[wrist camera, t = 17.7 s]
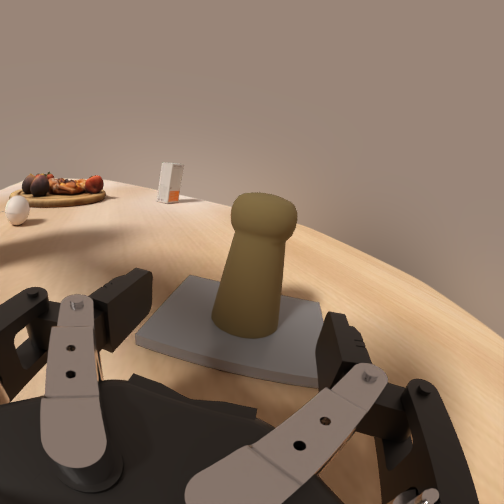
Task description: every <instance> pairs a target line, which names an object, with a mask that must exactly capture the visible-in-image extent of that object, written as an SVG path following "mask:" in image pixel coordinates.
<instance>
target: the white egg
mask: <svg viewBox="0 0 504 504" xmlns="http://www.w3.org/2000/svg"><path fill="white" fill-rule="evenodd" d="M29 211H30V208H29V203H28V201H27V200H26V199H25V198H24V197H22V196H14V197H12V198H11V199H10V200H9V201H8V202H7V205H6V208H5V215H6V218H7V220H8V221H9V222H10V223H11V224H13V225H20V224H22V223H24V222H25V221H26V219H27V218H28V215H29ZM2 212H4V211H2Z"/></svg>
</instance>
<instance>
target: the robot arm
mask: <svg viewBox="0 0 504 504" xmlns="http://www.w3.org/2000/svg"><path fill="white" fill-rule="evenodd" d="M152 280H153V276H152V272H150V271H147V270H143V269H139V268H135V269H133V270H132V271H130V272H129V273H128V274H126V275H122V276H119V277H116V278H114V279H112V280H111V281H110V282H109V283H107V284H105V285H104V286H103V287H101V288H99V289H98V290H96V291H95V292H93V293H92V294H91V295H89V296H86V295H80V294H76V295H70V296H67V297H65V298H64V299H63V300H62V301H61V303H58V302H52V301H49V300H48V293H47V291H46V290H45V289H43V288H40V287H31V288H27V289H25V290H23V291H21V292H20V293H18V294H17V295H15V296H14V297H12V298H10V299H9V300H7V301H6V302H4V303H3V304H1V305H0V504H344V503H343V502H342V501H341V500H340V499H339V498H338V497H337V496H336V495H335V494H334V492H333V491H332V490H331V489H330V488H329V487H328V486H327V485H326V484H325V483H324V482H323V481H322V479H321V478H320V477H319V476H318V475H319V474H320V473H321V472H322V471H323V470H324V469H325V468H326V466H327V465H328V464H329V463H330V462H331V461H332V460H333V458H334V457H335V456H336V455H337V454H338V453H339V451H340V450H341V449H342V448H343V447H344V446H345V444H346V443H347V442H348V441H349V439H350V438H351V437H352V436H353V434H354V433H355V432H360V433H363V434H367V435H370V436H374V439H375V445H376V452H377V460H378V468H379V476H380V486H381V497H382V504H479V501H478V497H477V493H476V490H475V486H474V483H473V480H472V476H471V473H470V470H469V467H468V464H467V461H466V458H465V455H464V453H463V450H462V447H461V445H460V442H459V439H458V437H457V434H456V432H455V429H454V427H453V424H452V422H451V419H450V417H449V415H448V412H447V410H446V408H445V406H444V403H443V401H442V399H441V397H440V395H439V392H438V390H437V389H436V388H435V386H434V385H432V384H431V383H430V382H428V381H425V380H422V379H413V380H411V381H410V382H409V383H408V385H407V386H406V388H404V387H401V386H397V385H394V384H391V383H388V377H387V375H386V373H385V372H384V371H383V370H382V369H381V368H379V367H377V366H375V365H373V364H372V362H371V360H370V357H369V354H368V352H367V349H366V348H365V347H366V346H365V344H364V342H363V339H362V336H361V334H360V333H359V332H358V330H357V329H356V328H355V327H353V326H349V324H348V321H347V318H346V315H345V314H341V313H335V312H328V313H327V315H326V317H325V320H324V323H323V326H322V329H321V332H320V335H319V338H318V340H317V344H316V349H315V357H316V366H317V376H318V386H319V393H318V394H317V395H316V396H315V397H314V398H312V399H311V400H310V401H309V402H308V403H306V404H305V405H304V406H303V407H302V408H301V409H299V410H298V411H297V412H296V413H294V414H293V415H292V416H291V417H289V418H288V419H287V420H286V421H284V422H283V423H282V424H280V425H279V426H278V427H276V428H274V427H273V426H271V425H270V424H268V423H266V422H264V421H262V420H260V419H258V418H256V413H257V409H256V408H251V407H246V406H241V405H237V404H232V403H228V402H220V401H205V400H193V399H189V398H187V397H185V396H183V395H181V394H179V393H177V392H175V391H174V390H172V389H170V388H168V387H166V386H165V385H163V384H161V383H158V382H156V381H153V380H150V379H147V378H144V377H142V376H139V375H136V374H134V373H133V375H132V376H131V377H130V379H129V380H128V381H126V380H104V379H103V372H102V365H101V357H100V351H101V349H104V350H107V351H109V352H111V353H113V352H114V351H115V349H116V348H117V347H118V346H119V345H120V344H121V343H122V342H123V341H124V340H125V339H126V337H127V336H128V335H129V334H130V333H131V332H132V331H133V330H134V329H135V328H136V327H137V326H138V324H139V323H140V322H141V321H142V320H143V319H144V318H145V317H146V316H147V315H148V313H149V312H150V309H151V305H152ZM25 326H26V328H27V332H28V335H29V338H28V339H27V340H26V341H25V342H23V343H22V344H21V345H20V346H19V347H18V348H17V349H15V346H14V338H15V335H16V334H17V333H18V332H19V331H20V330H22V329H23V328H24V327H25ZM46 363H47V369H46V384H45V395H44V396H40V397H35V398H31V399H26V400H21V401H16V402H11V401H12V400H13V399H14V397H15V396H16V395H17V394H18V393H19V392H20V391H21V390H22V389H23V387H24V386H25V385H26V384H27V383H28V382H29V381H30V380H31V379H32V378H33V377H34V376H35V375H36V374H37V372H38V371H39V370H40V369H41V368H42V367H43V366H44V365H45V364H46ZM10 402H11V403H10ZM411 434H412V437H413V444H412V440H411V437H410V435H411Z"/></svg>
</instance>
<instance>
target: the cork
mask: <svg viewBox="0 0 504 504" xmlns="http://www.w3.org/2000/svg"><path fill="white" fill-rule="evenodd" d="M231 223H232V226H233V228H234V230H235V234H234V237H233V241H232V244H231V247H230V251H229V254H228V258H227V261H226V264H225V268H224V271H223V275H222V278H221V282H220V285H219V288H218V292H217V295H216V299H215V302H214V306H213V310H212V316H211V319H212V320H213V322H214V324H215V325H216V326H217V327H218V328H220V329H221V330H222V331H224V332H226V333H229V334H231V335H234V336H237V337H241V338H251V339H256V338H263V337H267V336H269V335H271V334H273V333H274V332H275V331H276V330H277V327H278V321H279V311H280V301H281V290H282V279H283V268H284V255H285V243H286V241H287V240H288V239H289V238H290V237H291V236H292V234H293V232H294V230H295V228H296V223H297V211H296V208H295V206H294V205H293V204H292V203H291V202H290V201H288V200H285V199H284V198H281V197H279V196H276V195H272V194H266V193H244V194H242V195H240V196H238V198H237V199H236V200H235V201H234V204H233V206H232V210H231Z"/></svg>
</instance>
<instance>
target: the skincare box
mask: <svg viewBox="0 0 504 504" xmlns="http://www.w3.org/2000/svg"><path fill="white" fill-rule="evenodd" d="M183 167H184V165H183V164H176V163H164V162H163V163H162V168H161V174H160V180H159V188H158V195H157V202H162V203H166V204H168V203H178V200H179V193H180V186H181V180H182V173H183Z"/></svg>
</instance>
